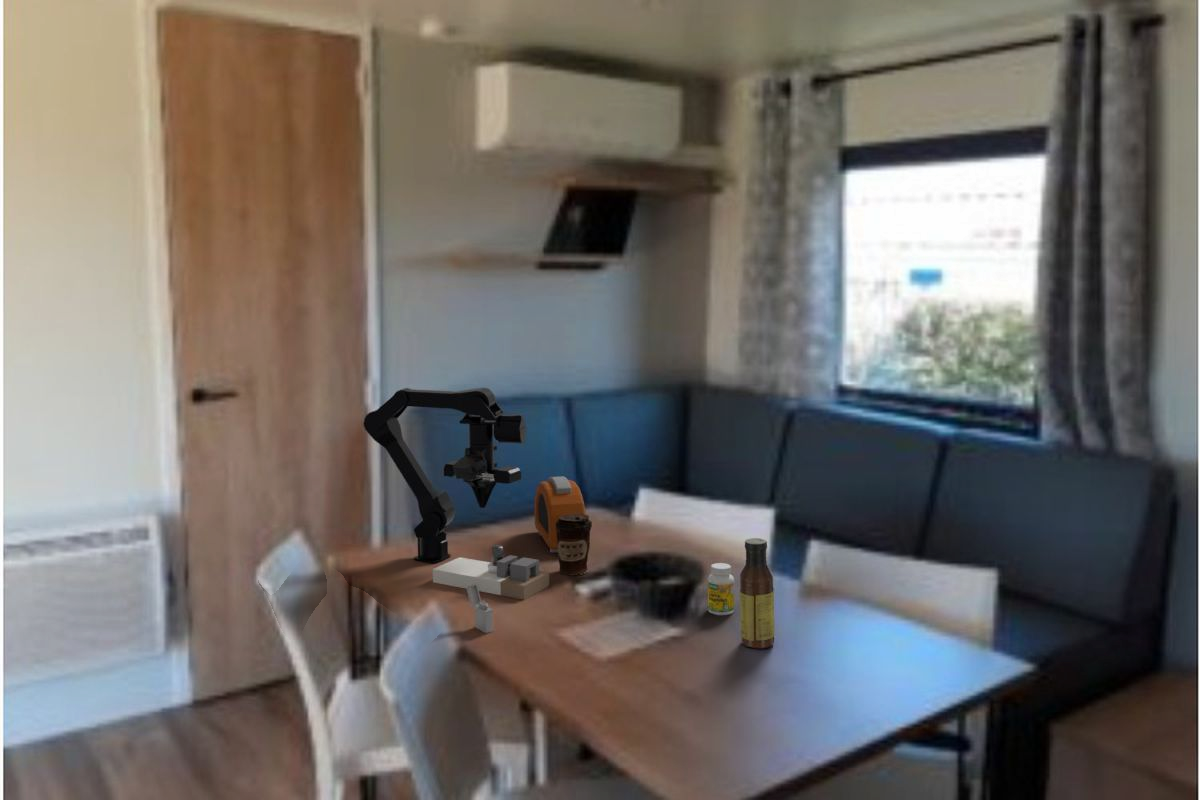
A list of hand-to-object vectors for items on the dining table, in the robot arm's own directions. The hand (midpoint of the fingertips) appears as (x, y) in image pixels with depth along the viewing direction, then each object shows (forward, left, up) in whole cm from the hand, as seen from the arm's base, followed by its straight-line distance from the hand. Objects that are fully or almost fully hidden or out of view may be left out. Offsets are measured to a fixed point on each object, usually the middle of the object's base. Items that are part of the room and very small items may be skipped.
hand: (482, 507), depth 236 cm
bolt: (+16, -13, -10) cm, 23 cm away
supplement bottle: (+62, -5, -13) cm, 64 cm away
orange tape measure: (+8, +22, -13) cm, 27 cm away
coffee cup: (+23, +3, -13) cm, 27 cm away
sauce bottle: (+74, -18, -13) cm, 78 cm away
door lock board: (+11, -13, -13) cm, 21 cm away
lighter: (+24, -35, -13) cm, 44 cm away
